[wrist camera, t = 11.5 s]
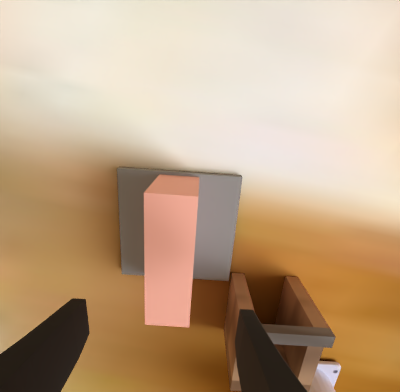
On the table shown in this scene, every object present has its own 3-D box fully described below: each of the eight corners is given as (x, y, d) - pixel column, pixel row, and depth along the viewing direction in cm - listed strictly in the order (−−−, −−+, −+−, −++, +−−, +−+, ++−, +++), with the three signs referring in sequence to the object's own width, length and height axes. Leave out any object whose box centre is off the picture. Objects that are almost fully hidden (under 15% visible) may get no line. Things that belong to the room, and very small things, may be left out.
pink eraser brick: (192, 281, 21) (189, 327, 16) (158, 278, 21) (145, 324, 16) (199, 177, 18) (198, 196, 13) (159, 174, 18) (143, 192, 13)
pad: (227, 276, 21) (228, 281, 21) (124, 270, 21) (121, 274, 21) (241, 175, 18) (242, 177, 18) (119, 166, 18) (116, 168, 18)
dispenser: (283, 333, 23) (311, 405, 17) (223, 329, 23) (231, 400, 17) (297, 277, 21) (335, 336, 15) (231, 272, 21) (243, 331, 15)
